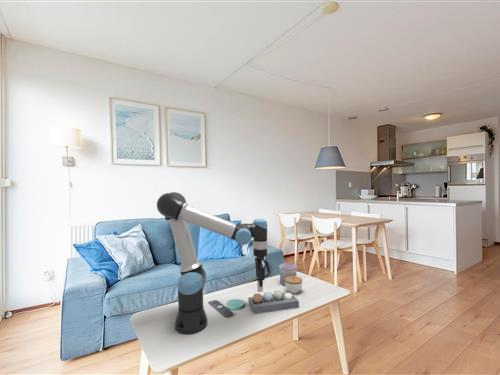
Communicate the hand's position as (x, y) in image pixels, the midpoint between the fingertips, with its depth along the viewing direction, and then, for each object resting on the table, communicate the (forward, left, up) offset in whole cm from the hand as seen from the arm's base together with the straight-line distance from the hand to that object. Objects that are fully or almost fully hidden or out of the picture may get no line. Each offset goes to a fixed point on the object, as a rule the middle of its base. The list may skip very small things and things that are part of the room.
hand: (260, 291), depth 138 cm
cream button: (+16, 0, -7) cm, 18 cm away
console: (+7, 0, -9) cm, 11 cm away
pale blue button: (+4, 0, -5) cm, 7 cm away
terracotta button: (-2, 0, -5) cm, 6 cm away
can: (+27, +26, -9) cm, 39 cm away
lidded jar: (+25, +13, -9) cm, 30 cm away
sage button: (+10, 0, -5) cm, 12 cm away
